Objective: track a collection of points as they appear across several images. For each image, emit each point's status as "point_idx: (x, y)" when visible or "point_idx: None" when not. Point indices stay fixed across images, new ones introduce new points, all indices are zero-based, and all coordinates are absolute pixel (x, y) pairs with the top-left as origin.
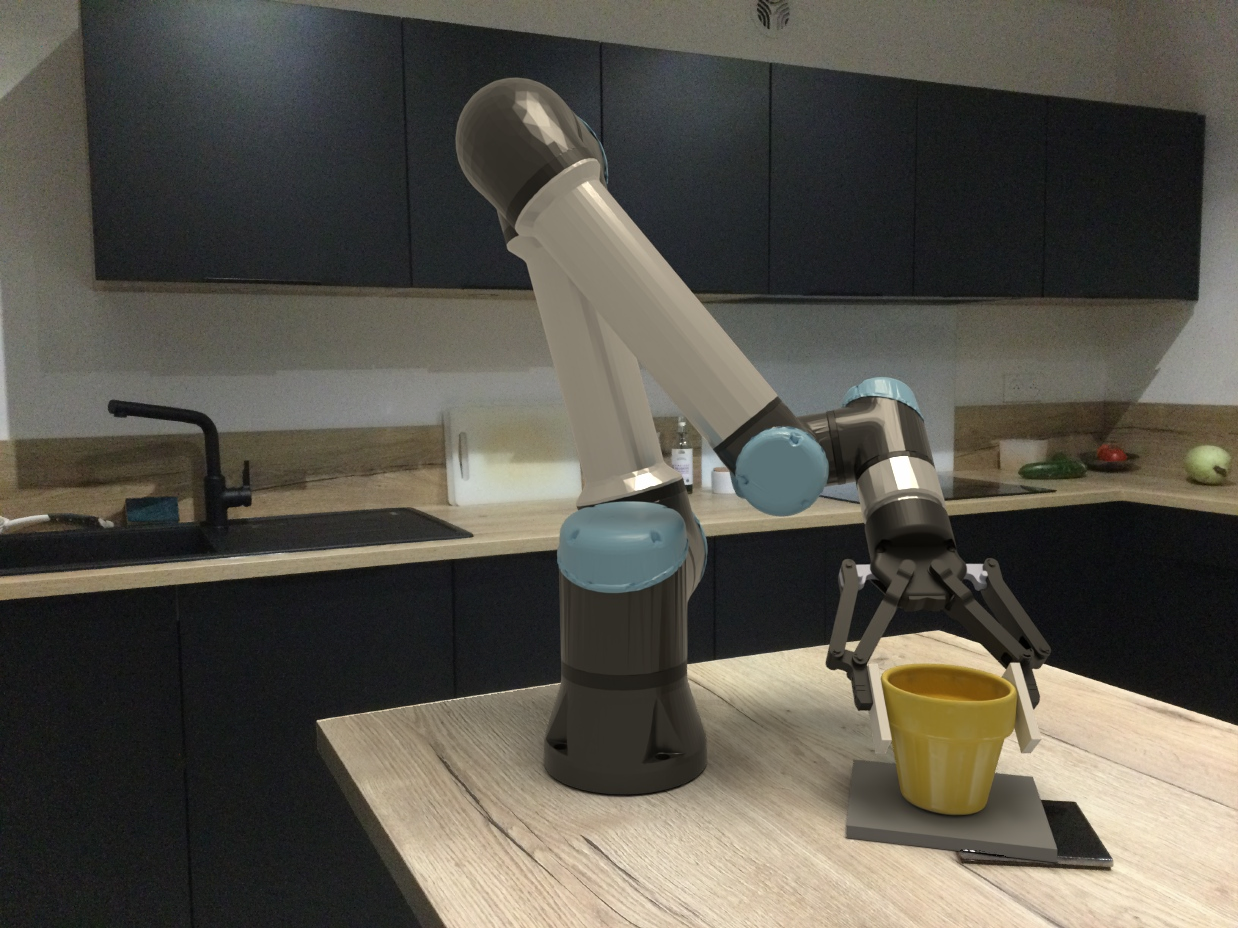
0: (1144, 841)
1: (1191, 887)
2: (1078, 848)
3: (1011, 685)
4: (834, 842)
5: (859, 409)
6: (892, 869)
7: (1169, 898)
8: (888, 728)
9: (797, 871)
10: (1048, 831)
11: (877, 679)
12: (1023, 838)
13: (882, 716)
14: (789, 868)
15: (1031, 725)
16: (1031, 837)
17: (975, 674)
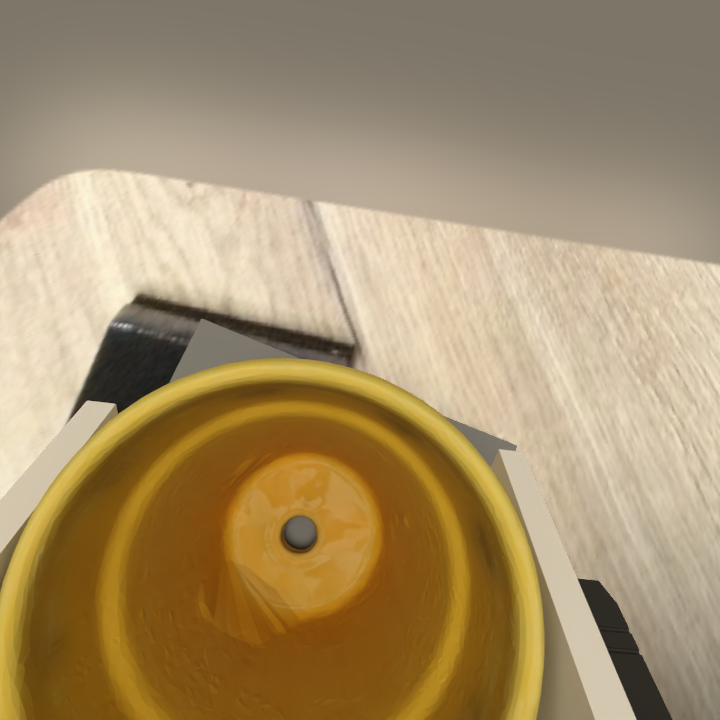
0: (8, 369)
1: (51, 233)
2: (141, 362)
3: (22, 555)
4: (529, 433)
5: None
6: (464, 342)
7: (108, 214)
8: (511, 474)
9: (600, 356)
10: (176, 378)
11: (581, 641)
12: (236, 359)
13: (534, 504)
14: (609, 365)
15: (83, 429)
16: (220, 362)
17: None
